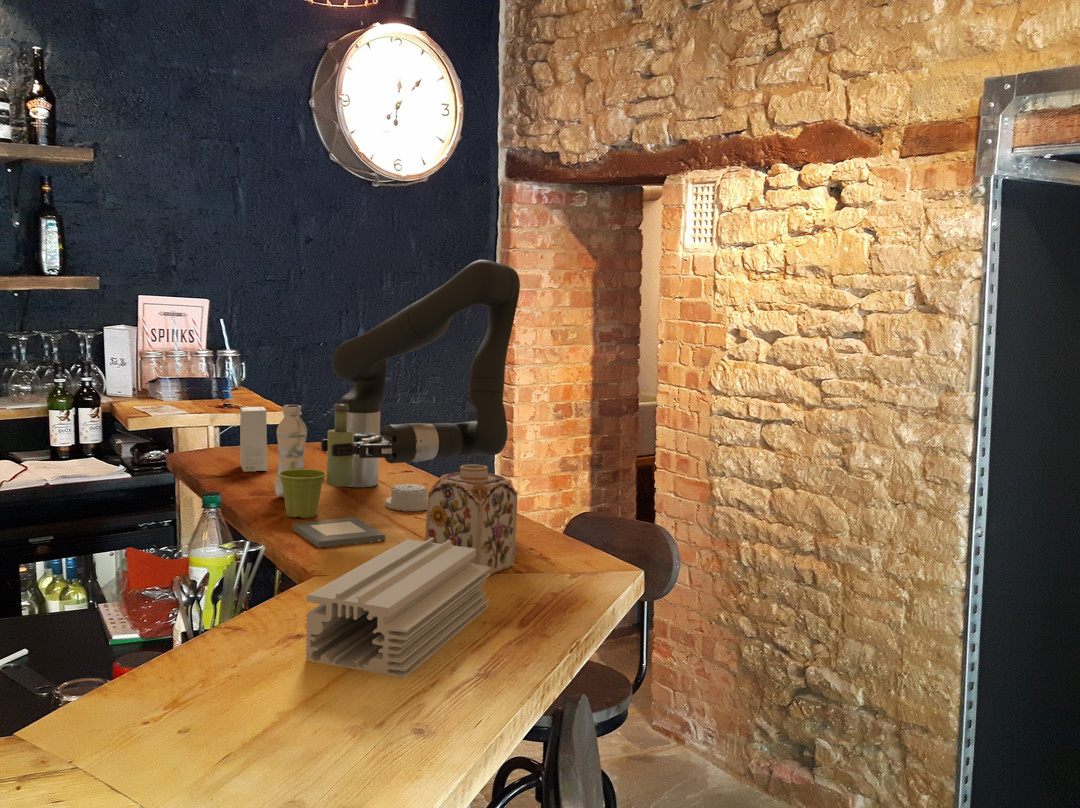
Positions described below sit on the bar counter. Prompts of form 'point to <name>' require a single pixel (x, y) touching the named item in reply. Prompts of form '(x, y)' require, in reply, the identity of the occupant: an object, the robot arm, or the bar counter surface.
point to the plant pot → (301, 491)
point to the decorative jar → (475, 515)
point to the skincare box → (253, 439)
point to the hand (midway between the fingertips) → (327, 447)
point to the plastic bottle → (290, 443)
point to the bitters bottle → (340, 465)
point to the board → (337, 532)
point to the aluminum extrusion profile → (396, 608)
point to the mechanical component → (408, 497)
